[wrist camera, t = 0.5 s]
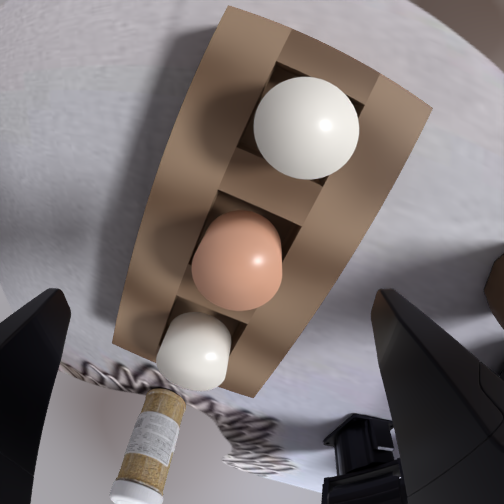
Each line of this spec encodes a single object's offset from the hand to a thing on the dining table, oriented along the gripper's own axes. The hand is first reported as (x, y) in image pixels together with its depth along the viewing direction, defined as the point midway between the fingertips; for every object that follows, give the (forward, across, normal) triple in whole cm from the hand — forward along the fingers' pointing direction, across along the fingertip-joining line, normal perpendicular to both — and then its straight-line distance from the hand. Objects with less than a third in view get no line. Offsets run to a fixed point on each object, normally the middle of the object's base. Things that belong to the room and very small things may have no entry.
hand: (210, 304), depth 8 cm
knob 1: (+9, +3, +11) cm, 14 cm away
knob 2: (+10, -4, -2) cm, 11 cm away
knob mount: (+13, -1, +5) cm, 14 cm away
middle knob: (+9, 0, +4) cm, 10 cm away
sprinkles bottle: (+11, +8, +25) cm, 28 cm away
